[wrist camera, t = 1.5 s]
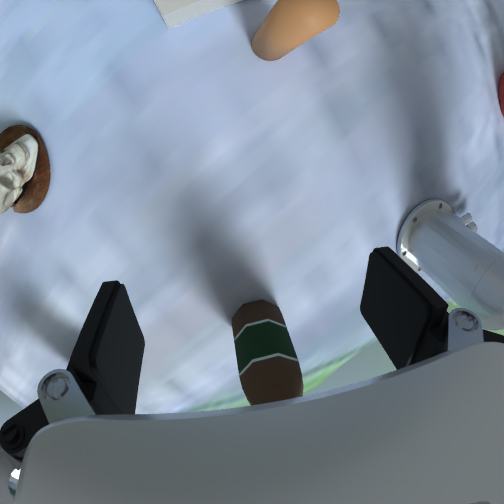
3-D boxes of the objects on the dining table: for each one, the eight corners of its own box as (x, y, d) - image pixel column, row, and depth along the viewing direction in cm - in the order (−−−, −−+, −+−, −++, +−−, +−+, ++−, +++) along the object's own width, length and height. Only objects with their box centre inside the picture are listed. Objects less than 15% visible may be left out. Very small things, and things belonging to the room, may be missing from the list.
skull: (13, 100, 21) (3, 146, 18) (64, 135, 31) (69, 184, 28) (-30, 167, 23) (-39, 222, 19) (19, 190, 32) (21, 243, 29)
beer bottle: (220, 317, 41) (238, 477, 20) (264, 288, 40) (315, 450, 19) (250, 344, 45) (280, 485, 24) (291, 320, 43) (344, 461, 22)
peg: (278, 25, 24) (324, -22, 12) (292, 54, 26) (348, 24, 14) (245, 36, 24) (272, -12, 12) (260, 65, 26) (297, 35, 14)
